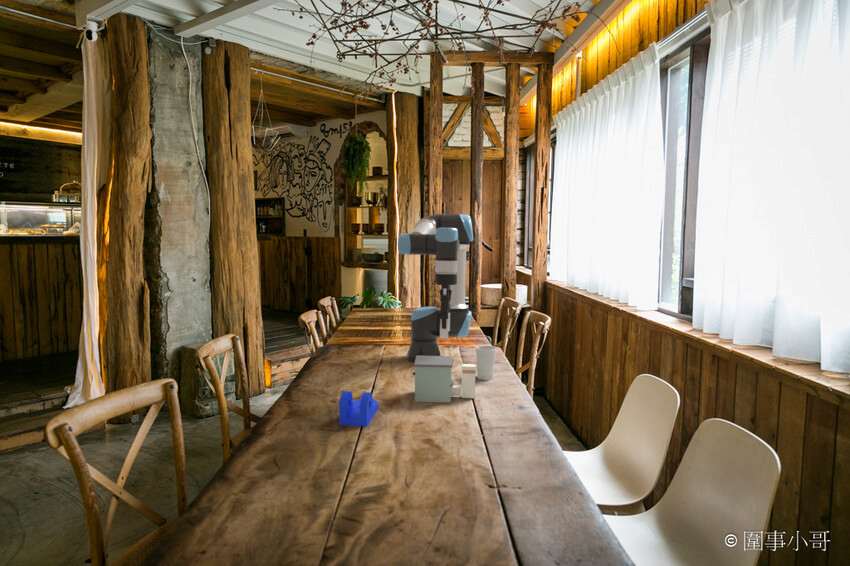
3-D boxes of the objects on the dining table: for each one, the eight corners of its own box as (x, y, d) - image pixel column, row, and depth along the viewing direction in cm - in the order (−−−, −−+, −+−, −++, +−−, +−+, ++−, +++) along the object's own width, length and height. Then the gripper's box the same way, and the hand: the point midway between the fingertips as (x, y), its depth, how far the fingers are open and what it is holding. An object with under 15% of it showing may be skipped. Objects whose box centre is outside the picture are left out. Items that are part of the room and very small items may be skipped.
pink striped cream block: (474, 395, 166) (475, 364, 165) (474, 398, 163) (475, 366, 162) (434, 394, 167) (435, 363, 165) (434, 397, 163) (435, 365, 162)
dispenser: (452, 391, 170) (453, 356, 169) (452, 402, 159) (453, 365, 158) (416, 390, 171) (416, 355, 170) (413, 401, 160) (414, 364, 158)
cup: (495, 375, 191) (495, 345, 190) (496, 381, 184) (496, 350, 182) (475, 374, 192) (475, 345, 191) (475, 380, 184) (475, 349, 183)
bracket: (367, 427, 139) (367, 397, 138) (339, 425, 140) (339, 395, 139) (380, 405, 156) (380, 378, 155) (355, 404, 157) (355, 377, 157)
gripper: (437, 270, 176) (436, 327, 178) (432, 275, 151) (431, 341, 153) (457, 271, 175) (456, 328, 177) (456, 275, 151) (454, 342, 152)
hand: (445, 334), depth 165 cm, fingers open, 13 cm apart
